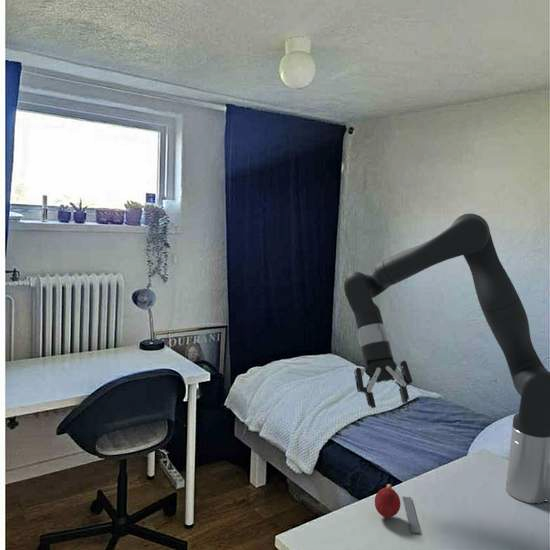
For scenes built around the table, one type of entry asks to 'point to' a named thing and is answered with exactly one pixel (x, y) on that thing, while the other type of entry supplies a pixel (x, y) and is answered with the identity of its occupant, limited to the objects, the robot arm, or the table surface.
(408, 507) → the flat gray rectangular bar
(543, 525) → the table surface
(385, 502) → the onion
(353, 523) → the table surface
